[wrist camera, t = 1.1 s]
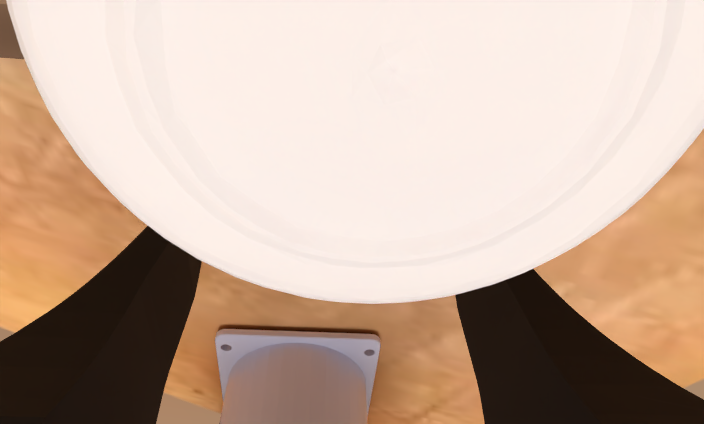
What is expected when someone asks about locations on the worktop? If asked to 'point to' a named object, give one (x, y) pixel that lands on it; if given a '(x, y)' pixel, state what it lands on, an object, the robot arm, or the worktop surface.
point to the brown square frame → (8, 35)
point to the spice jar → (371, 128)
